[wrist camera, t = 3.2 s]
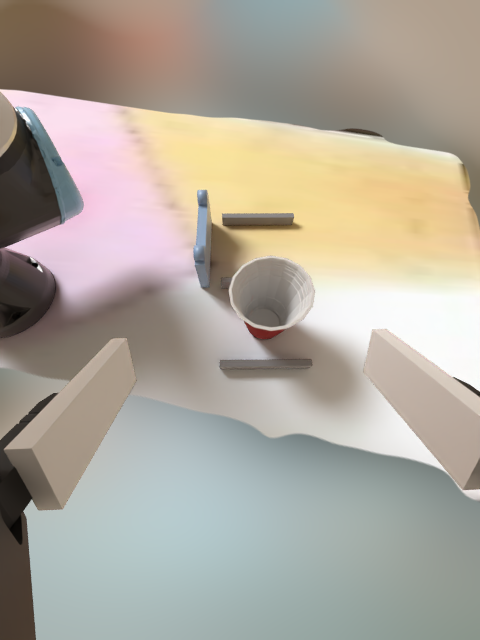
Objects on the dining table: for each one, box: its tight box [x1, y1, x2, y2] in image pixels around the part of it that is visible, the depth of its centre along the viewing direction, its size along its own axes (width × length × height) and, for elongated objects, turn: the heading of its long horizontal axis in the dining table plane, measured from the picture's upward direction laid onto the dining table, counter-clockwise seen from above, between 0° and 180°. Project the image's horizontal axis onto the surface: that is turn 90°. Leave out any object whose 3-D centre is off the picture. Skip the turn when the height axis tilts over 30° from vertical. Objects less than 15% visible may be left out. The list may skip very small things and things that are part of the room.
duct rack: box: [194, 190, 312, 369], centre depth 40 cm, size 18×30×9 cm, turn 1°
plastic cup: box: [229, 256, 315, 339], centre depth 36 cm, size 11×11×12 cm
